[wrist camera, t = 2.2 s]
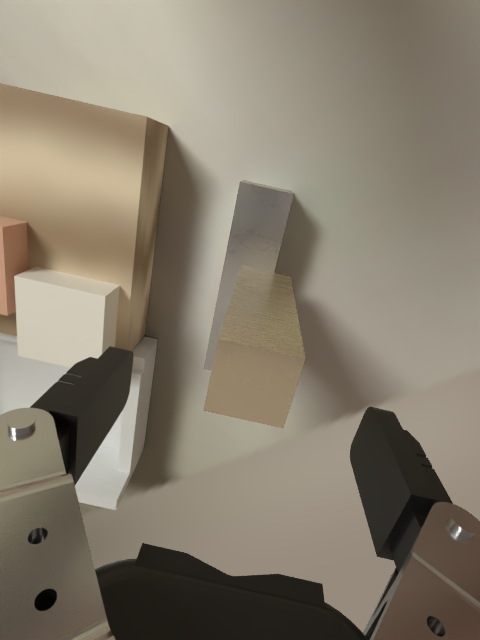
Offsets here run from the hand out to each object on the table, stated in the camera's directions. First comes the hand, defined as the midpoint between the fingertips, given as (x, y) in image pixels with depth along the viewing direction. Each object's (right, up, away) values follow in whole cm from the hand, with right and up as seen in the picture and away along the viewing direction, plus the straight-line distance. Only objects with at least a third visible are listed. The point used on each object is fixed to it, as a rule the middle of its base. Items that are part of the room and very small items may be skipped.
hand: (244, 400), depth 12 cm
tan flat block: (-12, +9, +12) cm, 19 cm away
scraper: (0, +6, +12) cm, 14 cm away
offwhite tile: (-10, +3, +10) cm, 15 cm away
